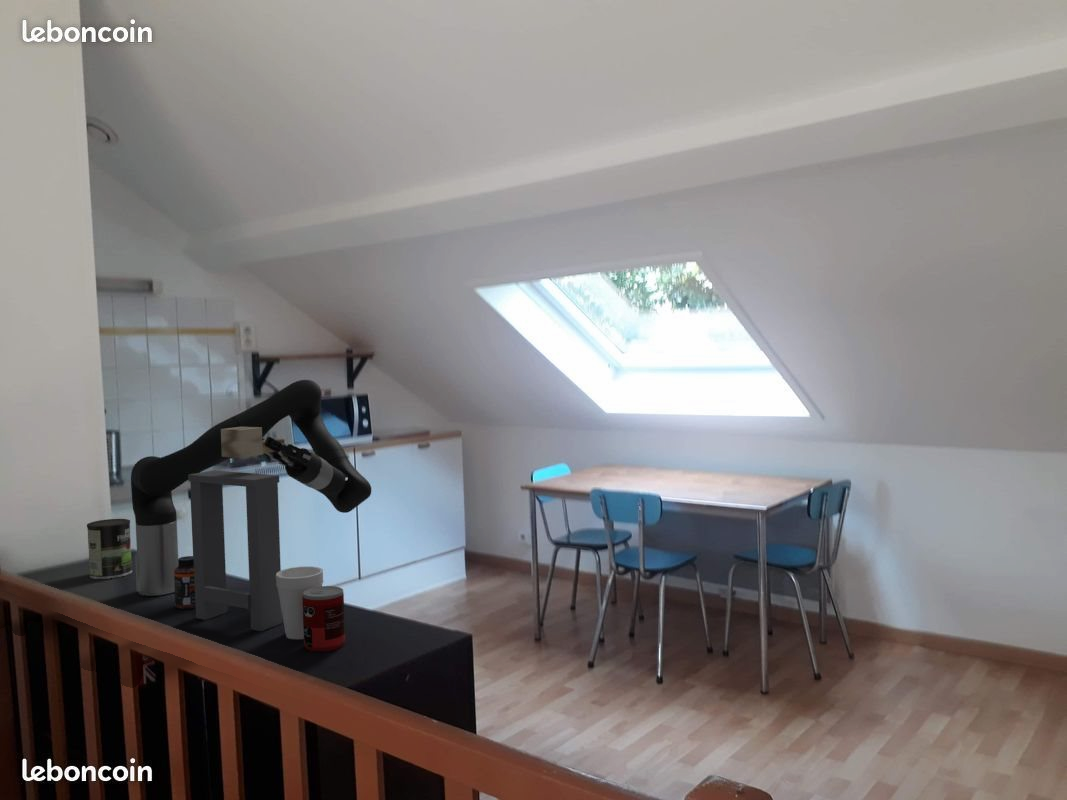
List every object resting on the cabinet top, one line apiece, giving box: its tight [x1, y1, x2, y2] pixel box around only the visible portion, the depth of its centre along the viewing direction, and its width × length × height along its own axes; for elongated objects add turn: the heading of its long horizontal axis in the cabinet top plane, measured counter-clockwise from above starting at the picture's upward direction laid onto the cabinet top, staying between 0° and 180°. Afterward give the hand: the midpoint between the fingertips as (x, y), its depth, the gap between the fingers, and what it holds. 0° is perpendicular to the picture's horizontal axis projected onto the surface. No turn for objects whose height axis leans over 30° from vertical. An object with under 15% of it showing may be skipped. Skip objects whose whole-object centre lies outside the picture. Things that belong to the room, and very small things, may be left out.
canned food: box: [302, 585, 346, 652], centre depth 166 cm, size 8×8×11 cm
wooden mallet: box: [221, 427, 285, 459], centre depth 186 cm, size 6×14×6 cm, turn 151°
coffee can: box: [86, 518, 133, 580], centre depth 223 cm, size 10×10×14 cm
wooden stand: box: [187, 470, 284, 632], centre depth 182 cm, size 20×7×32 cm, turn 61°
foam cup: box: [276, 565, 324, 640], centre depth 173 cm, size 10×9×13 cm
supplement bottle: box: [174, 555, 196, 610], centre depth 194 cm, size 6×6×11 cm
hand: (261, 440), depth 188 cm, fingers closed on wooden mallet, 3 cm apart
